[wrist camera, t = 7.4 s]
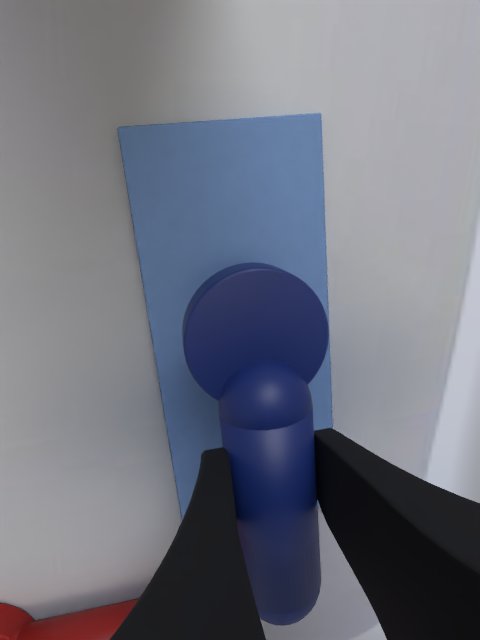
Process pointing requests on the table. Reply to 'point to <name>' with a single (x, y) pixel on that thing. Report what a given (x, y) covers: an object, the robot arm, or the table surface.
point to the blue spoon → (265, 421)
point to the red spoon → (64, 623)
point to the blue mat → (221, 243)
